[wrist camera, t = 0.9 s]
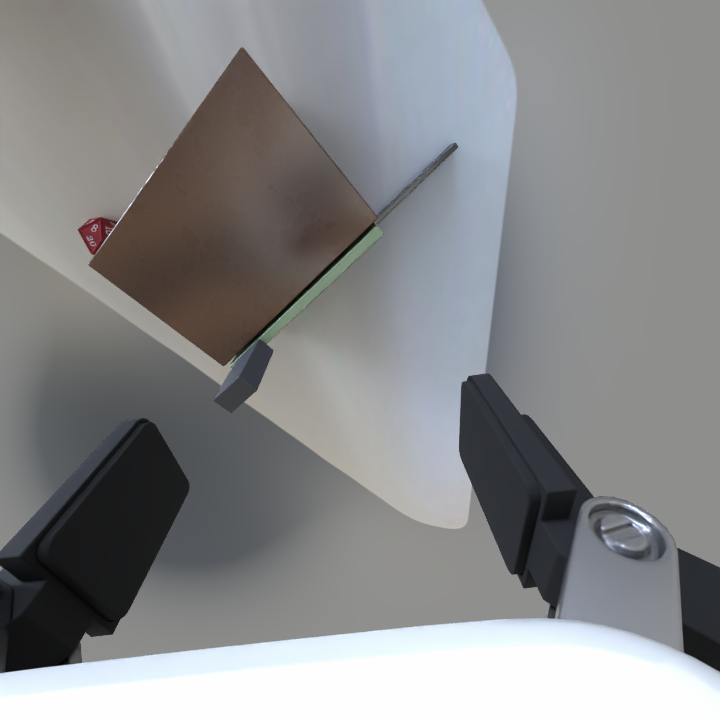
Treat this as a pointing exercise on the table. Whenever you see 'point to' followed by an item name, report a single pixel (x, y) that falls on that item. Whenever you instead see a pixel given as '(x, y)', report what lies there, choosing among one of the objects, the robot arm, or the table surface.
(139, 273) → the cabinet
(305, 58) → the table surface
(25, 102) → the table surface
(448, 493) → the table surface
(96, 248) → the dice
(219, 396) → the sliding door
